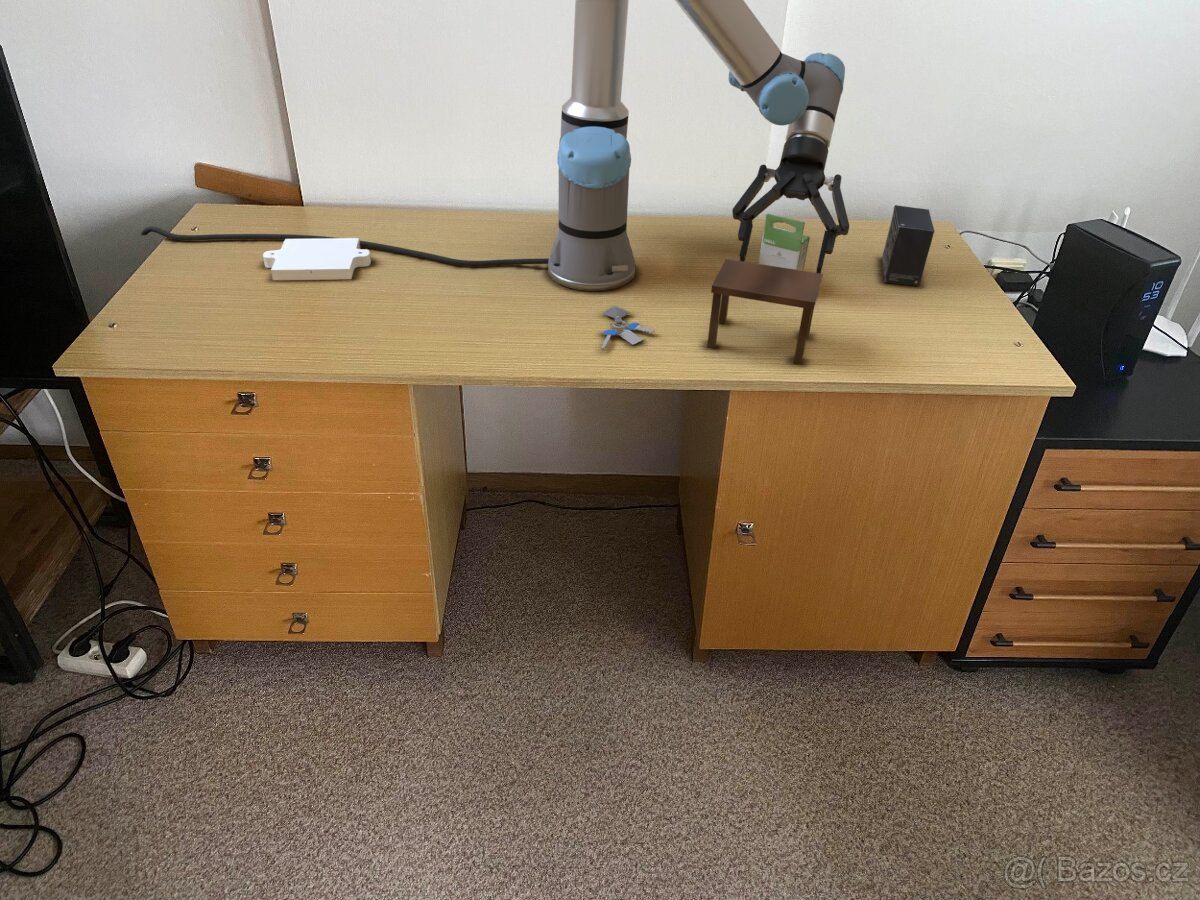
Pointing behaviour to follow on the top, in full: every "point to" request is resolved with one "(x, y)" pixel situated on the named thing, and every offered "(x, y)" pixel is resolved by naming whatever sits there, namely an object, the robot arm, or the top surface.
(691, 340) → the top surface
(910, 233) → the small box
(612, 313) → the key chain
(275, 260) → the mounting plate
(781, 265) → the ink box
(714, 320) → the side table
